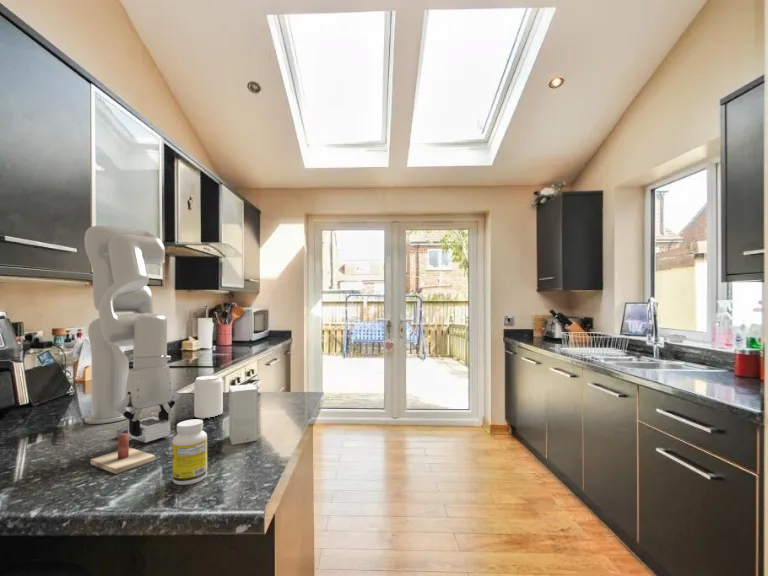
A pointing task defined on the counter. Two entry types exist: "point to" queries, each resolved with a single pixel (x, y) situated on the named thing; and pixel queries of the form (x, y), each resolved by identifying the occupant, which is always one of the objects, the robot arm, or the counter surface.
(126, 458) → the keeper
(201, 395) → the beverage can
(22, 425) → the counter surface
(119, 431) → the grey plaster slab
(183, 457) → the pill bottle
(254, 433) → the small box
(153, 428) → the white hollow block
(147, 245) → the robot arm
